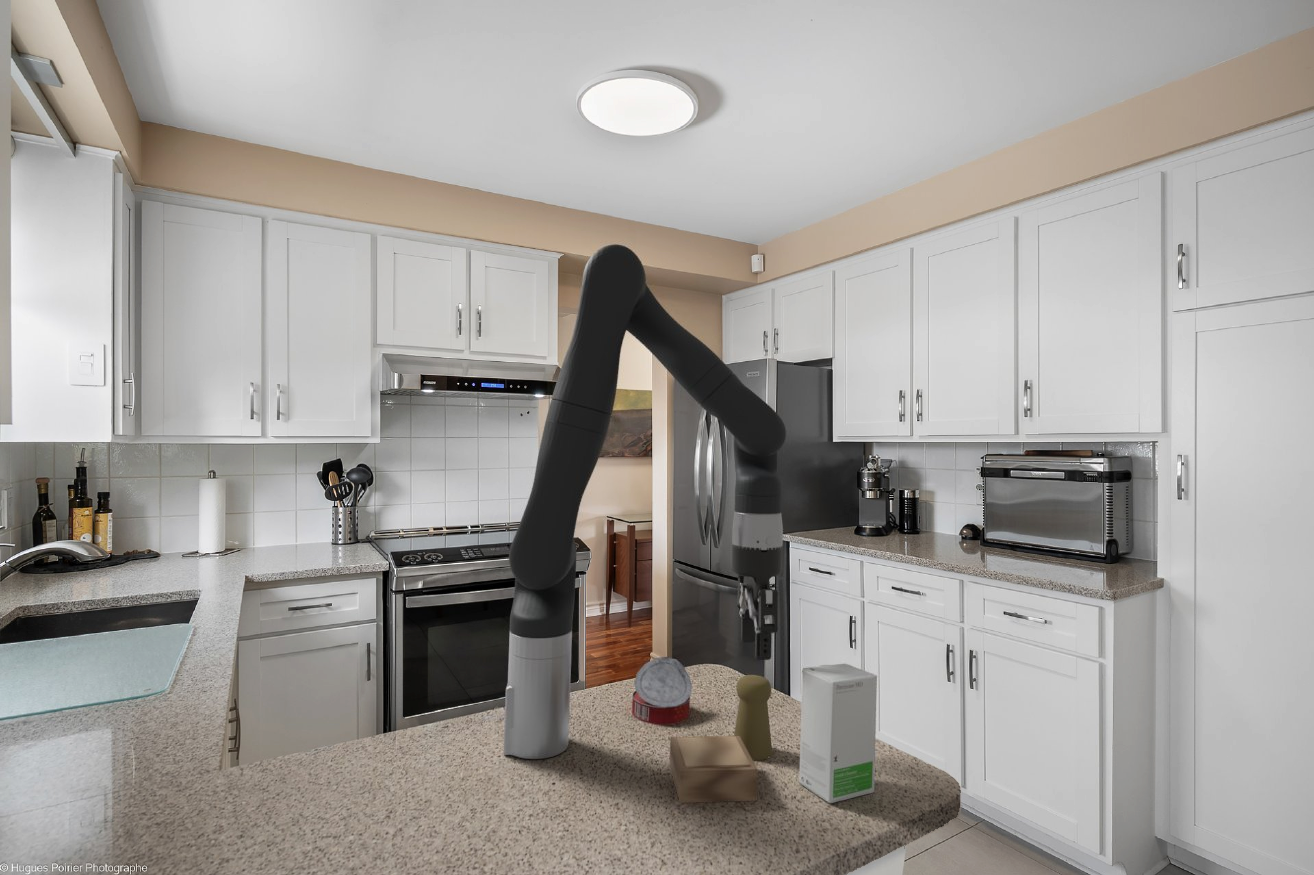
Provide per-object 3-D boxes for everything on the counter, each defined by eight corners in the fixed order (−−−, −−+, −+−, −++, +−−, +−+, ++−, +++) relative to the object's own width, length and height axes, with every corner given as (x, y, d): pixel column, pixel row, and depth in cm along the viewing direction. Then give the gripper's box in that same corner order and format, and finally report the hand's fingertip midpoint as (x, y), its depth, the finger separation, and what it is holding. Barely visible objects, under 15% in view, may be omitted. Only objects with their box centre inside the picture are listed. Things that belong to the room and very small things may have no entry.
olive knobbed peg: (771, 762, 97) (773, 686, 97) (729, 757, 98) (732, 682, 98) (773, 745, 102) (775, 672, 103) (733, 740, 104) (735, 669, 104)
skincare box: (828, 806, 85) (832, 683, 85) (795, 782, 91) (798, 667, 91) (877, 792, 89) (880, 674, 89) (842, 770, 95) (845, 660, 95)
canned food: (686, 736, 116) (714, 689, 114) (655, 750, 107) (685, 700, 106) (641, 691, 122) (667, 647, 120) (608, 702, 113) (636, 654, 112)
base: (679, 802, 85) (680, 769, 85) (669, 765, 95) (670, 735, 95) (756, 800, 86) (757, 767, 86) (738, 764, 96) (739, 734, 96)
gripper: (722, 535, 107) (721, 637, 107) (744, 549, 93) (742, 666, 93) (768, 536, 108) (766, 636, 108) (796, 549, 94) (794, 665, 94)
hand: (755, 650), depth 100 cm, fingers open, 8 cm apart
